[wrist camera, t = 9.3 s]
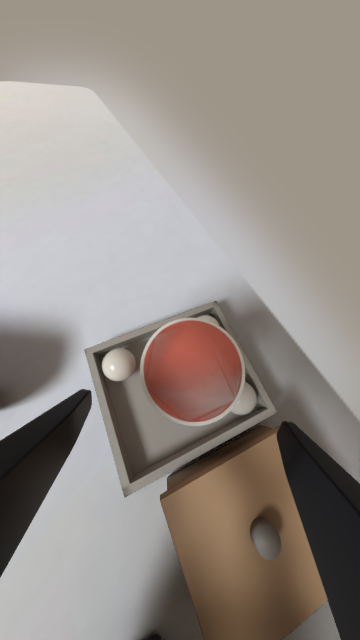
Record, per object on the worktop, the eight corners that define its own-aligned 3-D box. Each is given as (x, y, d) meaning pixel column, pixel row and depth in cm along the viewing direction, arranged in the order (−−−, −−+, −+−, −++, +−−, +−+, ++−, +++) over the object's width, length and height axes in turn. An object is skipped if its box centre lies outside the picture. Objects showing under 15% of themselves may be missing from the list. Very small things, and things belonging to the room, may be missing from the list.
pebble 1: (112, 387, 19) (102, 386, 16) (103, 358, 19) (93, 352, 17) (141, 374, 19) (138, 371, 16) (132, 347, 20) (127, 339, 17)
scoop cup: (154, 412, 18) (142, 434, 8) (151, 360, 20) (137, 321, 10) (205, 405, 19) (257, 417, 8) (198, 355, 20) (232, 314, 10)
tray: (129, 483, 17) (124, 497, 14) (93, 354, 20) (84, 349, 18) (263, 410, 20) (277, 412, 17) (210, 310, 23) (215, 300, 21)
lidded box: (204, 608, 14) (226, 719, 9) (160, 475, 17) (159, 507, 12) (316, 524, 17) (381, 578, 12) (262, 419, 19) (295, 427, 14)
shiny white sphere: (227, 419, 18) (239, 423, 16) (213, 388, 19) (221, 387, 16) (254, 405, 19) (269, 406, 16) (239, 376, 20) (251, 372, 17)
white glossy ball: (196, 351, 20) (201, 344, 18) (184, 326, 21) (187, 316, 19) (220, 341, 21) (229, 332, 18) (208, 317, 22) (215, 306, 19)
